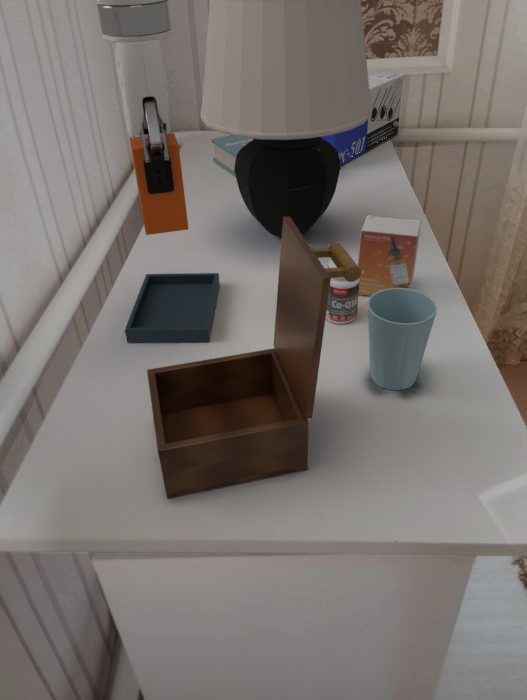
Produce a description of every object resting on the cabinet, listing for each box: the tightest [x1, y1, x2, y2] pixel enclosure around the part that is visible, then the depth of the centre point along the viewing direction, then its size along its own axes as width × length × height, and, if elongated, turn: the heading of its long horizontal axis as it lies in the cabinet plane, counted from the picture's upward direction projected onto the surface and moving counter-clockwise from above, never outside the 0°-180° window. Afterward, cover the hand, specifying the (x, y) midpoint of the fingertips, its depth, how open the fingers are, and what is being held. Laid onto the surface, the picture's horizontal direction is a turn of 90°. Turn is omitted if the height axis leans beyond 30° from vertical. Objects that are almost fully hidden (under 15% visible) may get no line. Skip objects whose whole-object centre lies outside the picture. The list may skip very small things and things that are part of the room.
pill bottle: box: [325, 257, 359, 325], centre depth 82 cm, size 5×5×8 cm
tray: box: [124, 272, 221, 344], centre depth 86 cm, size 15×11×2 cm
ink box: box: [321, 71, 405, 167], centre depth 137 cm, size 30×7×14 cm, turn 142°
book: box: [211, 135, 253, 178], centre depth 131 cm, size 23×16×5 cm
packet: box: [129, 132, 189, 236], centre depth 76 cm, size 6×4×11 cm
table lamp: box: [200, 0, 372, 238], centre depth 95 cm, size 27×27×40 cm
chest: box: [146, 347, 310, 499], centre depth 64 cm, size 15×13×7 cm
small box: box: [357, 214, 422, 297], centre depth 87 cm, size 8×6×10 cm
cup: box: [366, 288, 438, 391], centre depth 71 cm, size 8×8×10 cm
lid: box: [273, 216, 361, 419], centre depth 59 cm, size 15×13×5 cm
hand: (159, 182), depth 75 cm, fingers closed on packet, 4 cm apart
